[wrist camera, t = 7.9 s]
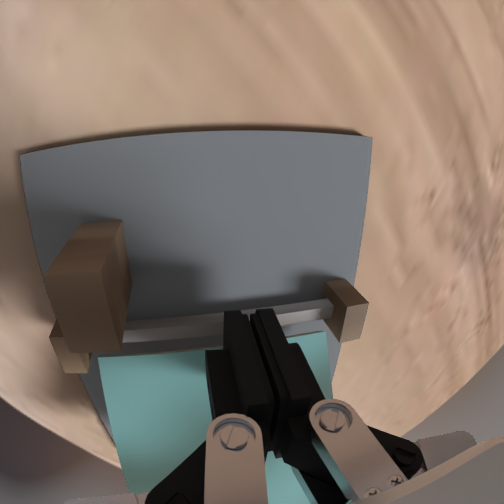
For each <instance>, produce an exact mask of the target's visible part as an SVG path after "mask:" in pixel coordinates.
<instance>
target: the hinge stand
mask: <svg viewBox="0 0 504 504" xmlns="http://www.w3.org/2000/svg"><path fill="white" fill-rule="evenodd" d="M43 277H44V280H45V283H46V287H47V290H48V293H49V296H50V300H51V303H52V306H53V309H54V312H55V314H56V317H57V320H56V322H55V324H54V327H53V329H52V331H51V334H50V336H49V338H50V341H51V343H52V346H53V348H54V350H55V353H56V355H57V357H58V359H59V361H60V364H61V366H62V368H63V370H64V372H65V373H88V369H89V364H90V360H91V355H92V352H116V351H121V350H122V343H132V342H146V341H159V340H171V339H182V338H192V337H202V336H211V335H220V334H223V327H224V312H222V313H213V314H203V315H193V316H183V317H172V318H160V319H148V320H135V321H126V317H127V311H128V305H129V299H130V294H131V289H132V279H131V273H130V267H129V261H128V255H127V249H126V242H125V235H124V228H123V220H118V221H108V222H99V223H89V224H81V225H79V227H78V228H77V229H76V231H75V232H74V233H73V235H72V236H71V237H70V239H69V240H68V241H67V243H66V244H65V245H64V247H63V248H62V249H61V251H60V252H59V254H58V255H57V256H56V258H55V259H54V261H53V262H52V264H51V265H50V266H49V268H48V269H47V271H46V272H45V274H44V275H43ZM368 304H369V302H368V301H367V300H366V299H365V298H364V297H363V296H362V295H361V294H360V293H359V292H358V291H357V290H356V289H355V288H354V287H353V286H352V285H351V284H350V283H349V282H348V281H347V280H346V279H341V280H334V281H326V282H325V288H324V295H323V299H320V300H314V301H307V302H300V303H293V304H286V305H279V306H271V307H263V308H256V309H265V308H273V310H274V312H275V314H276V316H277V319H278V321H279V323H280V325H281V326H286V325H292V324H298V323H304V322H310V321H316V320H322V319H323V320H324V322H325V323H326V325H327V326H328V327H329V329H330V330H331V332H332V333H333V335H334V336H335V337H336V339H337V340H338V342H339V343H342V342H346V341H351V340H355V339H359V338H360V336H361V333H362V329H363V325H364V321H365V317H366V313H367V309H368ZM256 309H247V310H241V312H242V314H247V315H248V318H249V321H250V314H253V313H255V311H256Z"/></svg>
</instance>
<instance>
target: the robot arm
mask: <svg viewBox="0 0 504 504" xmlns="http://www.w3.org/2000/svg"><path fill="white" fill-rule="evenodd" d="M205 366H206V379H207V388H208V395H209V402H210V408H211V415H212V422H211V424H210V425H209V426H208V430H207V436H206V440H205V441H204V442H203V443H202V444H201V445H200V446H199V447H198V448H197V449H196V450H195V451H194V452H193V453H192V454H191V455H190V456H189V457H187V458H186V459H185V460H184V461H183V462H182V463H181V464H180V465H179V466H178V467H177V468H176V469H174V470H173V471H172V472H171V473H170V474H169V475H168V476H167V477H166V478H164V479H163V480H162V481H161V482H160V483H159V484H158V485H156V486H155V487H154V488H153V489H152V490H151V491H150V492H147V493H141V494H135V493H128V494H121V495H113V496H105V497H95V498H83V499H73V500H69V501H66V502H65V503H64V504H268V495H267V484H266V473H265V462H266V458H267V454H268V452H270V451H273V452H274V456H275V459H277V458H283V461H284V463H286V464H288V465H290V466H291V468H292V471H293V473H294V475H295V477H296V479H297V480H298V482H299V484H300V486H301V488H302V489H303V491H304V493H305V495H306V497H307V498H308V500H309V502H310V504H504V436H500V437H496V438H491V439H488V440H485V441H484V442H481V443H479V444H477V443H476V441H475V439H474V438H473V436H472V435H470V434H469V433H468V432H465V431H456V432H453V433H448V434H443V435H439V436H434V437H429V438H425V439H419V440H418V441H416V442H414V443H413V442H411V441H409V440H406V439H403V438H400V437H397V436H394V435H392V434H389V433H386V432H383V431H380V430H378V429H375V428H372V427H370V426H367V425H366V424H365V423H364V422H363V420H362V419H361V418H360V416H359V415H358V414H357V412H356V411H355V410H354V409H353V408H352V407H351V406H350V405H349V404H347V403H346V402H344V401H341V400H338V399H325V397H324V395H323V393H322V391H321V389H320V386H319V384H318V382H317V380H316V378H315V376H314V374H313V372H312V370H311V368H310V366H309V364H308V362H307V359H306V357H305V355H304V353H303V351H302V349H301V347H300V345H299V344H298V343H297V342H296V343H288V341H287V339H286V337H285V334H284V332H283V330H282V328H281V325H280V323H279V321H278V319H277V316H276V314H275V312H274V310H273V308H265V309H256V311H255V313H253V314H250V321H249V318H248V315H247V314H242V312H241V310H232V311H224V327H223V349H217V350H205Z"/></svg>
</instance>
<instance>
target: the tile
mask: <svg viewBox="0 0 504 504" xmlns="http://www.w3.org/2000/svg"><path fill="white" fill-rule="evenodd" d="M285 337H286V339H287V341H288V343H296V342H297V343H298V344H299V345H300V347H301V349H302V351H303V353H304V355H305V357H306V359H307V362H308V364H309V366H310V368H311V370H312V372H313V374H314V376H315V378H316V380H317V382H318V384H319V386H320V389H321V391H322V393H323V395H324V397H325V399H333V395H332V384H331V374H330V364H329V355H328V346H327V337H326V331H313V332H308V333H302V334H296V335H290V336H285ZM217 349H223V345H221V346H213V347H204V348H195V349H185V350H174V351H162V352H149V353H135V354H117V355H102V356H100V357H98V362H99V368H100V374H101V380H102V386H103V392H104V397H105V402H106V407H107V412H108V416H109V421H110V425H111V429H112V433H113V437H114V441H115V445H116V449H117V453H118V456H119V460H120V463H121V467H122V470H123V473H124V477H125V480H126V483H127V486H128V489H129V492H130V493H135V494H141V493H147V492H150V491H151V490H152V489H153V488H154V487H155V486H156V485H158V484H159V483H160V482H161V481H162V480H163V479H164V478H166V477H167V476H168V475H169V474H170V473H171V472H172V471H173V470H174V469H176V468H177V467H178V466H179V465H180V464H181V463H182V462H183V461H184V460H185V459H186V458H187V457H189V456H190V455H191V454H192V453H193V452H194V451H195V450H196V449H197V448H198V447H199V446H200V445H201V444H202V443H203V442H204V441H205V440H206V436H207V430H208V426H209V425H210V424H211V422H212V415H211V408H210V402H209V395H208V388H207V379H206V366H205V350H217ZM265 473H266V484H267V495H268V504H310V502H309V500H308V498H307V497H306V495H305V493H304V491H303V489H302V488H301V486H300V484H299V482H298V480H297V479H296V477H295V475H294V473H293V471H292V468H291V466H290V465H288V464H286V463H284V461H283V458H277V459H275V456H274V452H273V451H270V452H268V454H267V458H266V462H265Z"/></svg>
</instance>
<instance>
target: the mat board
mask: <svg viewBox="0 0 504 504" xmlns="http://www.w3.org/2000/svg"><path fill="white" fill-rule="evenodd" d="M372 138H373V137H367V136H360V135H349V134H338V133H324V132H307V131H283V130H213V131H189V132H173V133H159V134H147V135H137V136H128V137H119V138H111V139H103V140H96V141H89V142H82V143H76V144H70V145H64V146H59V147H53V148H48V149H43V150H38V151H33V152H29V153H25V154H22V155H20V163H21V172H22V180H23V187H24V194H25V200H26V206H27V211H28V217H29V222H30V227H31V232H32V236H33V241H34V245H35V249H36V253H37V257H38V261H39V265H40V269H41V272H42V276H43V275H44V274H45V272H46V271H47V269H48V268H49V266H50V265H51V264H52V262H53V261H54V259H55V258H56V256H57V255H58V254H59V252H60V251H61V249H62V248H63V247H64V245H65V244H66V243H67V241H68V240H69V239H70V237H71V236H72V235H73V233H74V232H75V231H76V229H77V228H78V227H79V225H81V224H89V223H99V222H108V221H118V220H123V228H124V235H125V242H126V249H127V255H128V261H129V267H130V273H131V279H132V289H131V294H130V299H129V305H128V311H127V317H126V321H135V320H148V319H160V318H172V317H183V316H193V315H203V314H213V313H222V312H224V311H232V310H247V309H256V308H263V307H271V306H279V305H286V304H293V303H300V302H307V301H314V300H320V299H323V295H324V288H325V282H326V281H334V280H341V279H346V280H347V281H348V282H349V283H350V284H351V285H352V286H353V287H354V281H355V276H356V270H357V264H358V258H359V252H360V246H361V239H362V233H363V225H364V218H365V210H366V202H367V194H368V185H369V175H370V164H371V152H372ZM43 279H44V277H43ZM44 283H45V280H44ZM45 286H46V283H45ZM46 289H47V287H46ZM47 292H48V290H47ZM48 296H49V293H48ZM49 299H50V296H49ZM50 302H51V300H50ZM51 305H52V303H51ZM52 308H53V306H52ZM53 311H54V309H53ZM54 314H55V312H54ZM55 317H56V314H55ZM56 319H57V317H56ZM281 328H282V330H283V332H284V334H285V336H290V335H296V334H302V333H308V332H313V331H326V337H327V346H328V355H329V364H330V374H331V383H332V379H333V376H334V372H335V368H336V364H337V360H338V356H339V352H340V348H341V343H339V342H338V340H337V339H336V337H335V336H334V335H333V333H332V332H331V330H330V329H329V327H328V326H327V325H326V323H325V322H324V320H323V319H322V320H316V321H310V322H304V323H298V324H292V325H286V326H281ZM221 345H223V334H220V335H211V336H202V337H192V338H182V339H171V340H159V341H146V342H132V343H122V350H121V351H116V352H92V355H91V360H90V364H89V369H88V373H78V374H79V376H80V378H81V380H82V382H83V385H84V387H85V389H86V391H87V393H88V395H89V397H90V399H91V401H92V403H93V405H94V407H95V409H96V410H97V412H98V414H99V416H100V418H101V420H102V422H103V423H104V425H105V427H106V429H107V430H108V432H109V434H110V436H111V437H112V439H113V441H114V437H113V433H112V429H111V425H110V421H109V416H108V412H107V407H106V402H105V397H104V392H103V386H102V380H101V374H100V368H99V362H98V357H100V356H102V355H117V354H135V353H149V352H162V351H174V350H185V349H195V348H204V347H213V346H221ZM114 442H115V441H114Z"/></svg>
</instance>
